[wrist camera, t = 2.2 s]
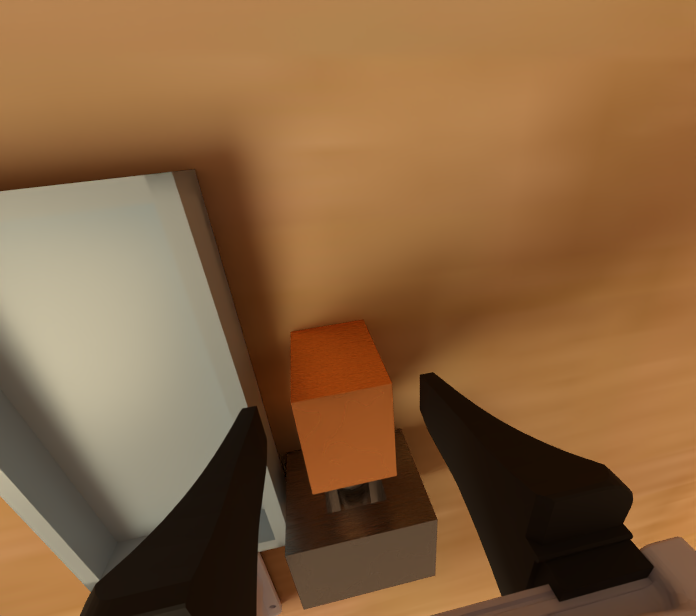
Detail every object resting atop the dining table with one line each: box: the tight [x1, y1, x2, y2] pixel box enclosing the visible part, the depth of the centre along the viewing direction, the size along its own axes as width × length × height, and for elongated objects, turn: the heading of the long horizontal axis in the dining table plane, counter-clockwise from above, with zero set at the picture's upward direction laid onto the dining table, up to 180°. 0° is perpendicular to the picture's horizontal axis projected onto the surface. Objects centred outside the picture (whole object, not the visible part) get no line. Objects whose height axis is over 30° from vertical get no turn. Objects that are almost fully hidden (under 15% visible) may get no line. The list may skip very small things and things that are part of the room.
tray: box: [0, 169, 286, 592], centre depth 14 cm, size 20×11×2 cm, turn 6°
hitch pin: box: [291, 320, 397, 510], centre depth 16 cm, size 15×4×5 cm, turn 6°
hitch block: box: [285, 429, 437, 609], centre depth 18 cm, size 5×7×5 cm
